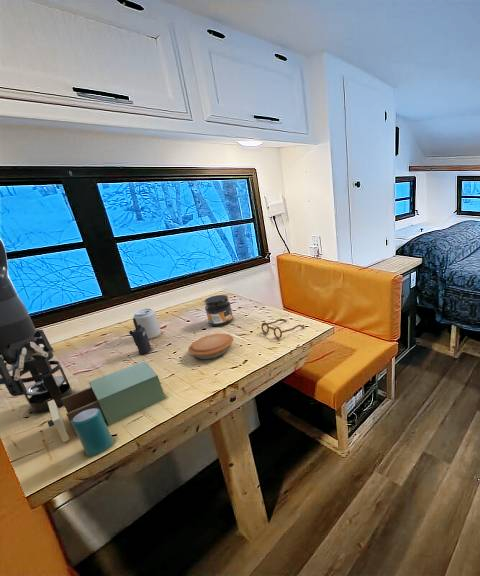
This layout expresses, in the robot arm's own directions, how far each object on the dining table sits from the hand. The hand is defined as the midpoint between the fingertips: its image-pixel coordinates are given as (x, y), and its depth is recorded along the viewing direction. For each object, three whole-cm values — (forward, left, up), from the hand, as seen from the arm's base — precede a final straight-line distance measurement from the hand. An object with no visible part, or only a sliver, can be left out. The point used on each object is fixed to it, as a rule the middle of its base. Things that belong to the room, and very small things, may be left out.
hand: (33, 382), depth 70 cm
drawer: (+5, +8, -19) cm, 21 cm away
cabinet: (+15, +8, -20) cm, 26 cm away
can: (+32, +53, -20) cm, 65 cm away
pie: (+43, +18, -20) cm, 51 cm away
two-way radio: (+26, +40, -20) cm, 52 cm away
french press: (0, +27, -20) cm, 33 cm away
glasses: (+70, +11, -20) cm, 74 cm away
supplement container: (+57, +42, -20) cm, 74 cm away
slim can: (+5, -6, -20) cm, 22 cm away
